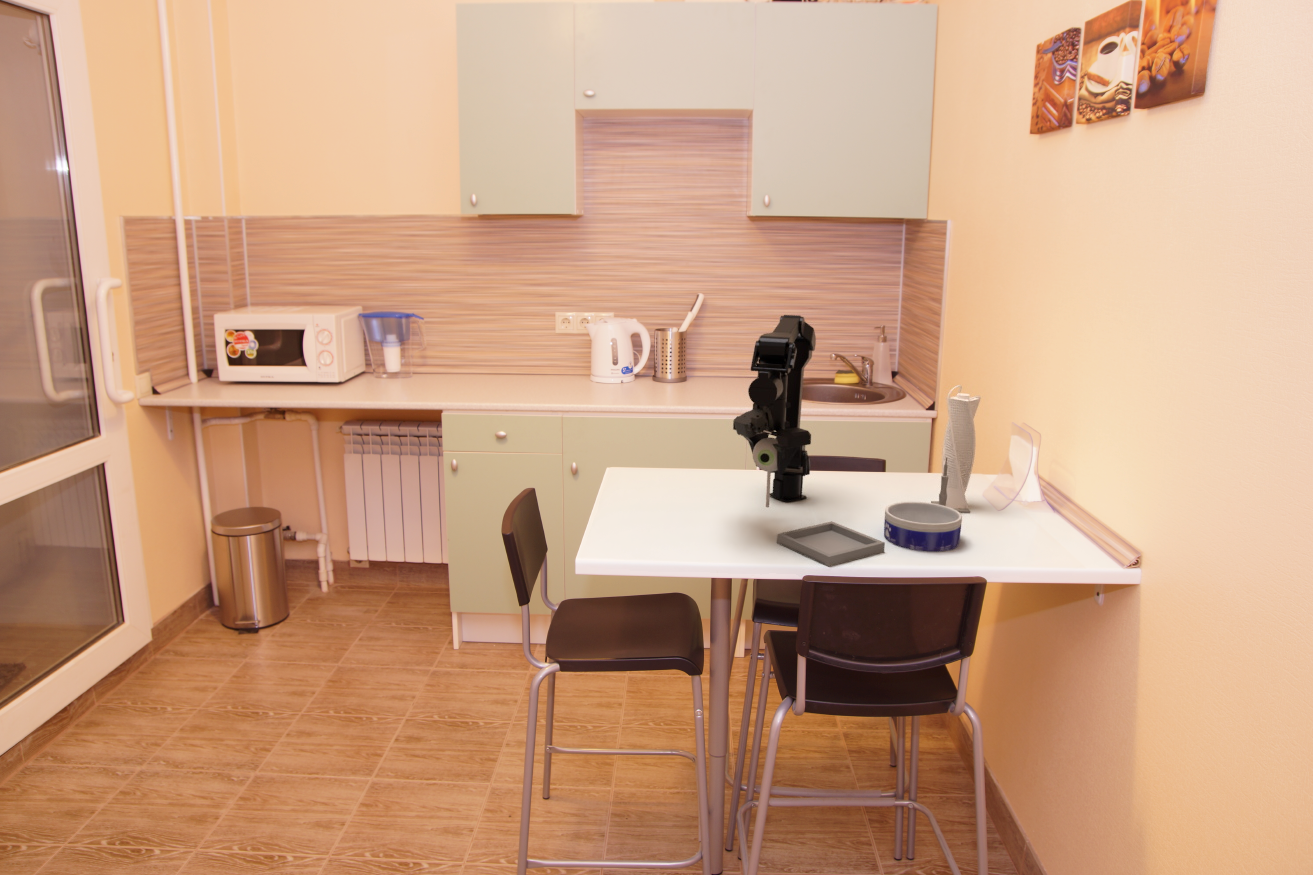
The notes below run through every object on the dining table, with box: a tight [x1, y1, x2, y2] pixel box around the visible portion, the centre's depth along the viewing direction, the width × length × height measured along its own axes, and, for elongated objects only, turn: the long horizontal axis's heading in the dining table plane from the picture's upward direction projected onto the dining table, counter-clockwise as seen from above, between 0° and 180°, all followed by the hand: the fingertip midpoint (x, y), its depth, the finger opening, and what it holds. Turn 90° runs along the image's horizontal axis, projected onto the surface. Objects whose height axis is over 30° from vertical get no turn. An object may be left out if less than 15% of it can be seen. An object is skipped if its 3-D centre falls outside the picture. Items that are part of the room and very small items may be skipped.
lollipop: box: [752, 437, 778, 508], centre depth 191 cm, size 7×7×15 cm
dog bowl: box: [883, 501, 963, 553], centre depth 188 cm, size 15×15×6 cm
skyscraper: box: [930, 384, 982, 514], centre depth 207 cm, size 8×8×28 cm
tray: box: [776, 521, 886, 567], centre depth 183 cm, size 15×15×2 cm
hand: (769, 470), depth 190 cm, fingers closed on lollipop, 7 cm apart
